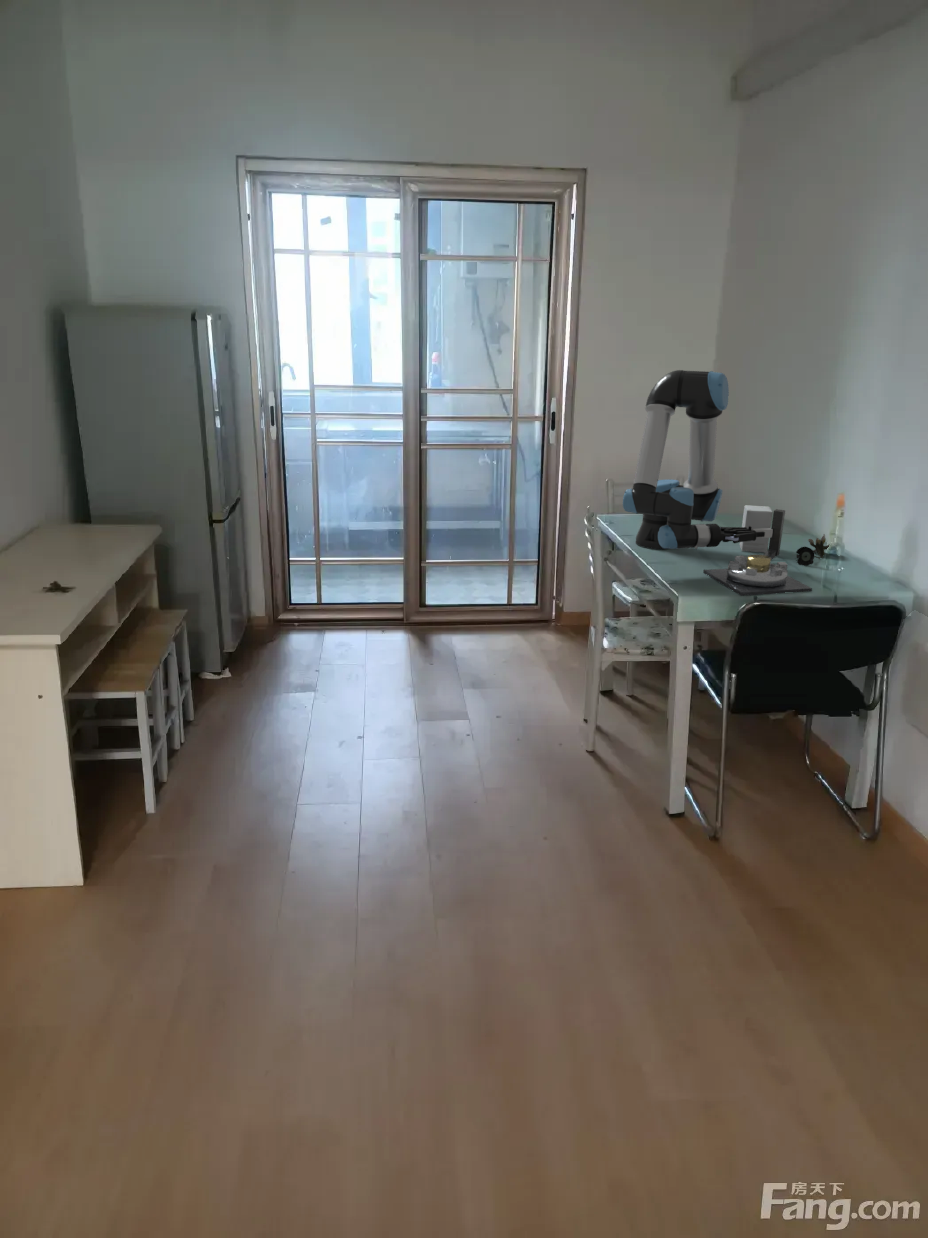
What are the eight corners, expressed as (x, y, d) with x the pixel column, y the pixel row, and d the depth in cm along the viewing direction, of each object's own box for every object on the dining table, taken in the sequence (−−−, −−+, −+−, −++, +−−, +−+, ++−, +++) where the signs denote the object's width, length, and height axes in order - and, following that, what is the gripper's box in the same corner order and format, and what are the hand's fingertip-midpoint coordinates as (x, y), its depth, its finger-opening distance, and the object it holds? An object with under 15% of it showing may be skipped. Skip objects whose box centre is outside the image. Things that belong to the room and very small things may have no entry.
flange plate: (703, 572, 290) (706, 549, 288) (769, 569, 296) (772, 545, 293) (740, 595, 268) (744, 570, 266) (811, 591, 274) (815, 566, 271)
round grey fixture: (778, 590, 270) (786, 532, 264) (719, 579, 279) (726, 524, 273) (800, 566, 294) (809, 513, 288) (746, 557, 303) (753, 506, 297)
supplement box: (767, 553, 314) (773, 511, 309) (741, 551, 316) (746, 510, 311) (764, 546, 323) (770, 506, 317) (739, 544, 324) (744, 504, 319)
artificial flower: (788, 567, 303) (786, 538, 303) (816, 562, 319) (814, 534, 318) (814, 565, 297) (812, 535, 296) (841, 560, 313) (839, 532, 312)
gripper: (694, 541, 295) (758, 538, 300) (713, 552, 283) (780, 549, 288) (697, 519, 293) (761, 516, 298) (716, 529, 280) (783, 526, 285)
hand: (770, 532), depth 293 cm, fingers closed
